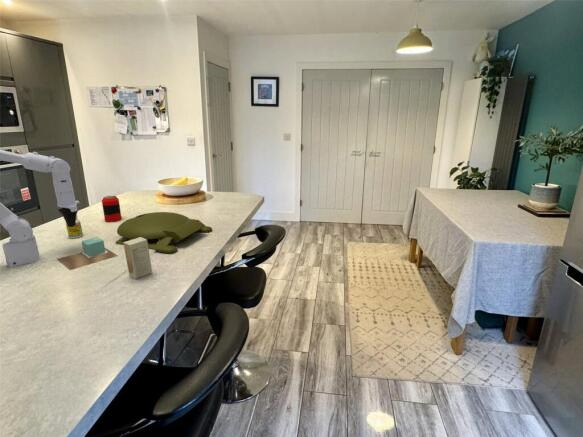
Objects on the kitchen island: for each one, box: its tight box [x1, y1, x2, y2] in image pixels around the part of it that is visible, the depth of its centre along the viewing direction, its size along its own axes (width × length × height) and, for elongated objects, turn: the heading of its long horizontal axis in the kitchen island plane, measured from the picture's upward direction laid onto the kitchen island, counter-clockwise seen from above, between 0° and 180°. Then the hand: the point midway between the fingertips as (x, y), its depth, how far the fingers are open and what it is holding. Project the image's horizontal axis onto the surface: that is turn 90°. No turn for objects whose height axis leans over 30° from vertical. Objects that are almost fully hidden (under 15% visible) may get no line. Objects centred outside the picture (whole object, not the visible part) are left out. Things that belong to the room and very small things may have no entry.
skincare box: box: [123, 237, 153, 280], centre depth 112 cm, size 6×4×12 cm
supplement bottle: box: [65, 214, 83, 239], centre depth 147 cm, size 5×5×10 cm
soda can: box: [101, 195, 123, 223], centre depth 169 cm, size 8×8×12 cm
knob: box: [81, 236, 106, 257], centre depth 127 cm, size 6×6×5 cm
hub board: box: [56, 247, 119, 271], centre depth 124 cm, size 16×14×4 cm
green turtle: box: [114, 211, 213, 255], centre depth 147 cm, size 35×31×10 cm
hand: (71, 226), depth 129 cm, fingers closed
